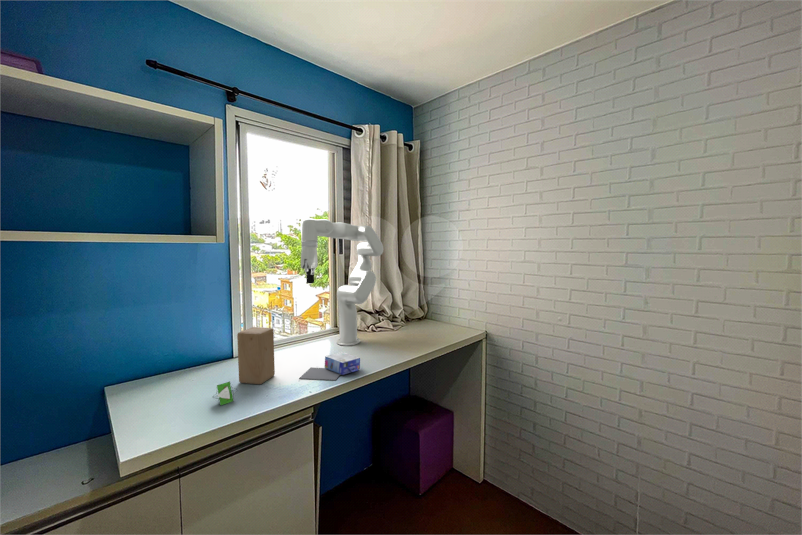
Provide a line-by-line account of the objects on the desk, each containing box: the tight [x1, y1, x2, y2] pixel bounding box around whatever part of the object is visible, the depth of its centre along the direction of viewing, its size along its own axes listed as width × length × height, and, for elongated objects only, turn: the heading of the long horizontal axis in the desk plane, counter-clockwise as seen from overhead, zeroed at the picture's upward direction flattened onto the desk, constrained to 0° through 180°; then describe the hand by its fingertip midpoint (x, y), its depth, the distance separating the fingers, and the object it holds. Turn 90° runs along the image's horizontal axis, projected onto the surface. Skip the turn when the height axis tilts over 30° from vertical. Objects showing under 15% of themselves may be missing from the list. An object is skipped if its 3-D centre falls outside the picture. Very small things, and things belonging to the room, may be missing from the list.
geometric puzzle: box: [212, 381, 239, 406], centre depth 115 cm, size 7×7×8 cm
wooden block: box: [236, 326, 276, 385], centre depth 134 cm, size 10×10×20 cm
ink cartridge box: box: [324, 351, 361, 376], centre depth 144 cm, size 10×6×14 cm
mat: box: [298, 367, 341, 382], centre depth 140 cm, size 12×15×1 cm
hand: (310, 283), depth 163 cm, fingers closed
